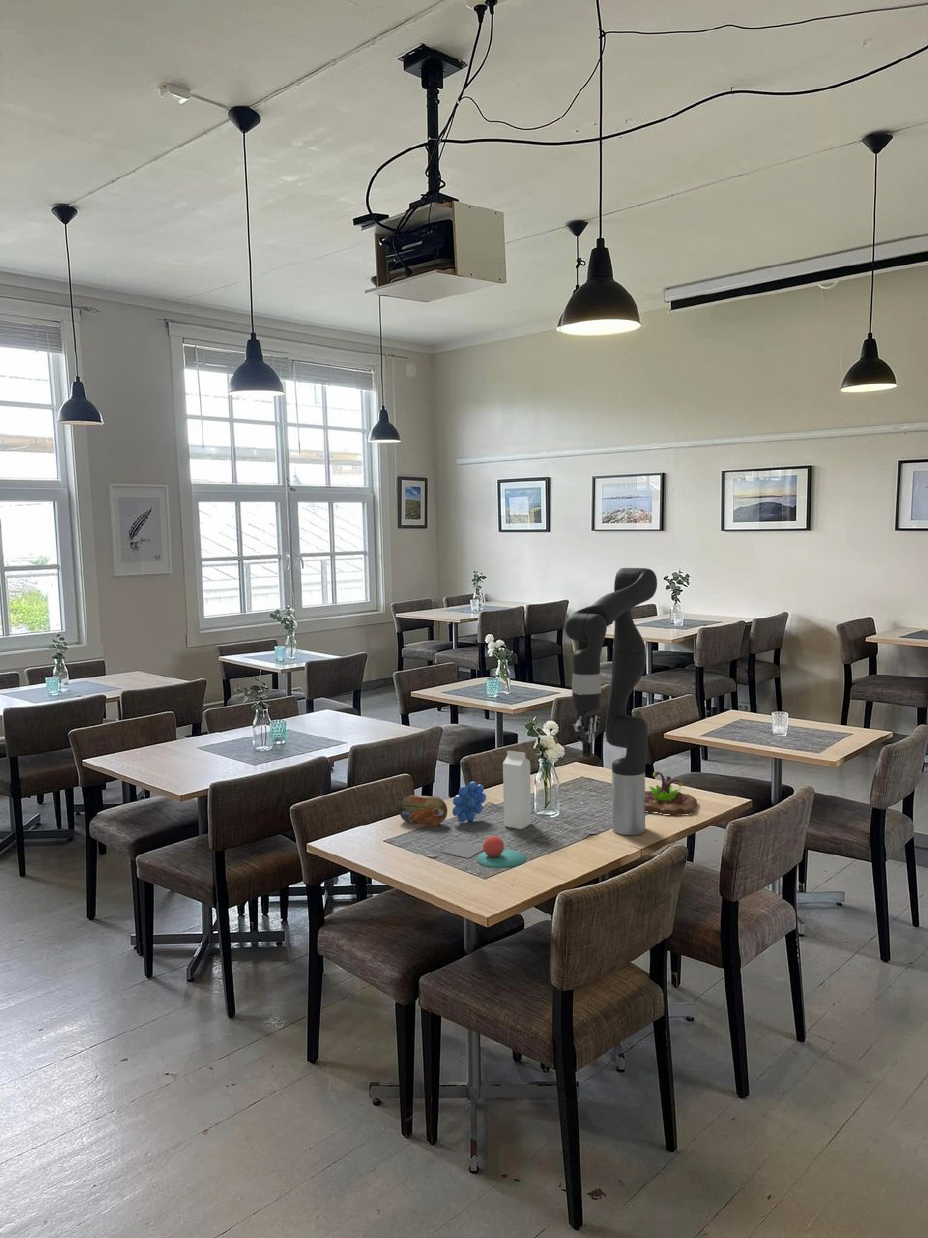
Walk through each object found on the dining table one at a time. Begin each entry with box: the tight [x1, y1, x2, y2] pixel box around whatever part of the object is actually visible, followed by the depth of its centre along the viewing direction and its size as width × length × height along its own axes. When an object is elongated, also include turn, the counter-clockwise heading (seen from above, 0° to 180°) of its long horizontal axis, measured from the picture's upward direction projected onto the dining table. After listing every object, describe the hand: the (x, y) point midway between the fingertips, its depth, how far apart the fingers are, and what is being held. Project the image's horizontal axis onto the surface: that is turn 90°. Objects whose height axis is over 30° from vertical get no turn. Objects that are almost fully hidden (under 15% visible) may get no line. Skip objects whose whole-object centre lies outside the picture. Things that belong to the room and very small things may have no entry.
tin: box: [398, 794, 448, 827], centre depth 260 cm, size 15×3×8 cm, turn 68°
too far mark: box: [440, 841, 484, 859], centre depth 236 cm, size 9×9×1 cm
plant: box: [645, 771, 698, 816], centre depth 272 cm, size 20×20×11 cm
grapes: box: [452, 781, 487, 823], centre depth 262 cm, size 12×7×12 cm, turn 120°
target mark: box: [476, 849, 527, 869], centre depth 229 cm, size 13×13×1 cm
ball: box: [482, 835, 505, 857], centre depth 231 cm, size 6×6×6 cm
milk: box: [502, 750, 532, 830], centre depth 256 cm, size 6×6×22 cm
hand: (587, 756), depth 227 cm, fingers closed
